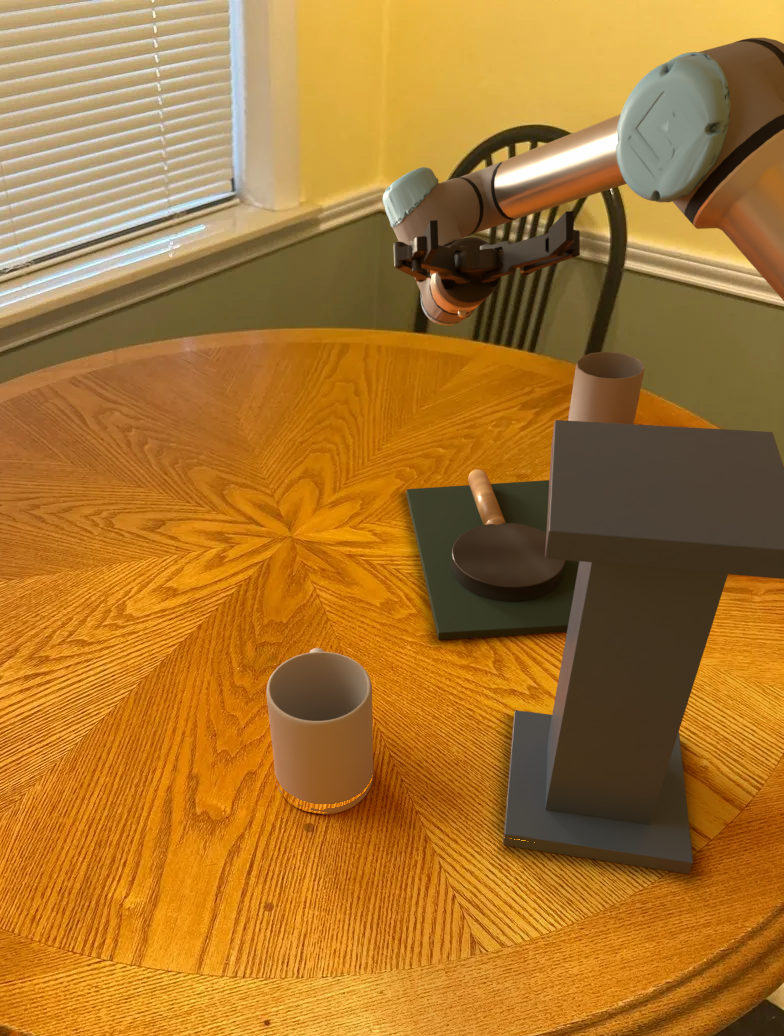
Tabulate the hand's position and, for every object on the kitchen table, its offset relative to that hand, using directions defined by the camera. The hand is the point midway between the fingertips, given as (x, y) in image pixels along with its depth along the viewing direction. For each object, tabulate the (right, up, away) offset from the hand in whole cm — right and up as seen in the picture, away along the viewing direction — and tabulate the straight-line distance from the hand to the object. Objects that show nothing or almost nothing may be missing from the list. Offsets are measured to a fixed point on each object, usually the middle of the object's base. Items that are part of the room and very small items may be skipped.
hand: (502, 229), depth 89 cm
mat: (+2, -32, +12) cm, 34 cm away
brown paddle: (+2, -29, +13) cm, 32 cm away
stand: (+4, -54, -15) cm, 56 cm away
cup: (+20, -14, +31) cm, 40 cm away
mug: (-18, -52, -10) cm, 56 cm away
